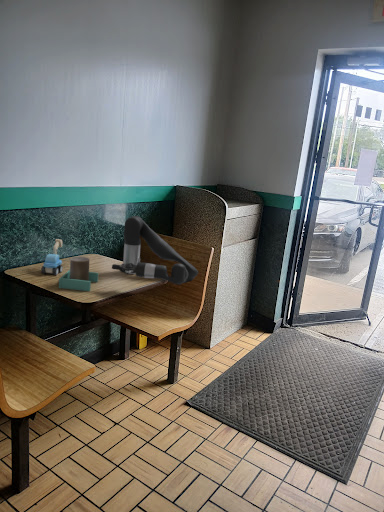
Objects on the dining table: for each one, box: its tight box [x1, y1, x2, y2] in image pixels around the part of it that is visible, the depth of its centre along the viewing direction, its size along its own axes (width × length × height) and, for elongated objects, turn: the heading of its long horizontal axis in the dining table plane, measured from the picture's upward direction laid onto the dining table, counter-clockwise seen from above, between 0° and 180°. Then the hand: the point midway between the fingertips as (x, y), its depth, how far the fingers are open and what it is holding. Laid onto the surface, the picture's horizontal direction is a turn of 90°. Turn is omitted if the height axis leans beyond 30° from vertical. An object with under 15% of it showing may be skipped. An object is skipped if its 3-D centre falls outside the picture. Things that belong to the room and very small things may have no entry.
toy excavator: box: [40, 238, 64, 276], centre depth 235 cm, size 9×17×17 cm, turn 174°
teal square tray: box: [58, 269, 99, 292], centre depth 219 cm, size 16×17×5 cm
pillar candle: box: [69, 256, 90, 281], centre depth 219 cm, size 10×10×15 cm
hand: (112, 266), depth 216 cm, fingers closed
